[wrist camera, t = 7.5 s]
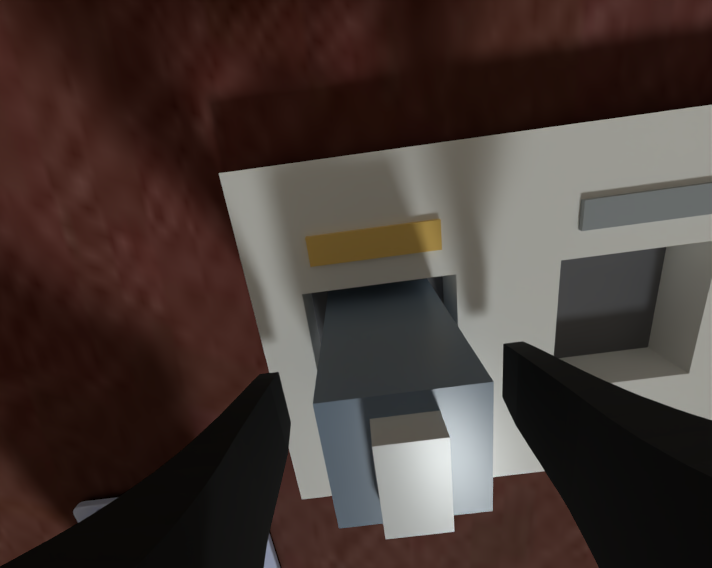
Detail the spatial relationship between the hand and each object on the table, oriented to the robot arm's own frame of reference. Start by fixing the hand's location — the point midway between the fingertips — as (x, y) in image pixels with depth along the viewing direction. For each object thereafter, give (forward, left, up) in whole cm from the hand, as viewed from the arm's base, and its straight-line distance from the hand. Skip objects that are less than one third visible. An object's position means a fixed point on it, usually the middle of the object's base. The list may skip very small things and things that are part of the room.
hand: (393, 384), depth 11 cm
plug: (0, 0, -4) cm, 4 cm away
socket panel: (+4, 0, -4) cm, 6 cm away
